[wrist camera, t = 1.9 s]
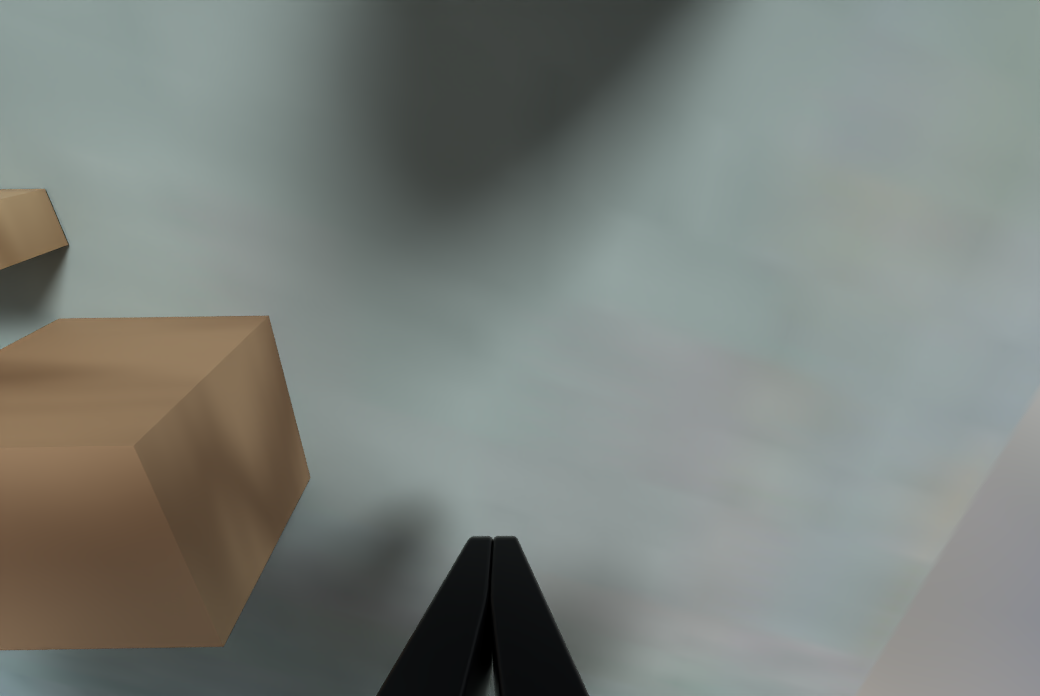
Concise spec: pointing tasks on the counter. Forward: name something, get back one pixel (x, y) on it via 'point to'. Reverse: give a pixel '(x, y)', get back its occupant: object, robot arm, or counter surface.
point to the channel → (27, 226)
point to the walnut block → (141, 479)
